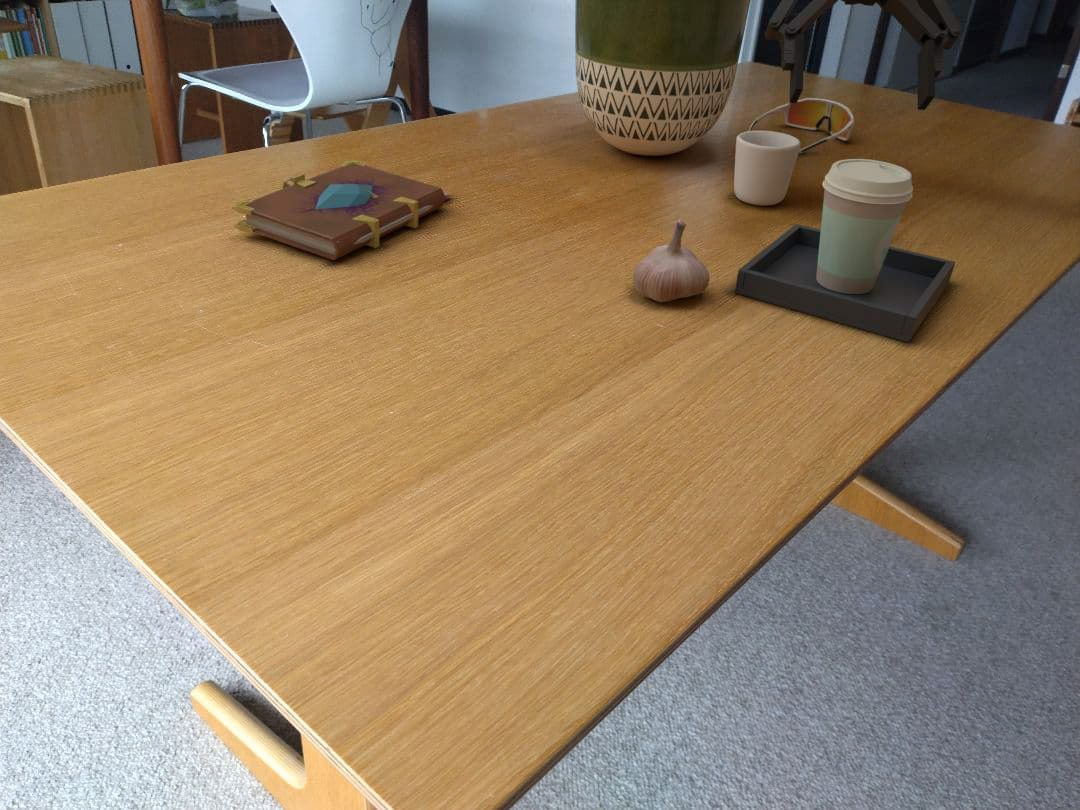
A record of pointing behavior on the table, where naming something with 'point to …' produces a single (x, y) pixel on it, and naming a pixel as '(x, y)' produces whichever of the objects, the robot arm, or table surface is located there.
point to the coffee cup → (859, 222)
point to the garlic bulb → (670, 271)
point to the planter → (656, 68)
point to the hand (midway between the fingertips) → (860, 100)
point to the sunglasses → (816, 118)
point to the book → (339, 209)
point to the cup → (764, 166)
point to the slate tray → (884, 310)
